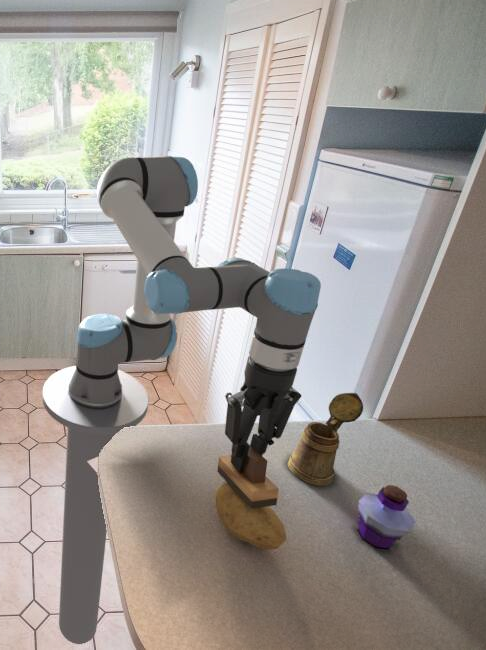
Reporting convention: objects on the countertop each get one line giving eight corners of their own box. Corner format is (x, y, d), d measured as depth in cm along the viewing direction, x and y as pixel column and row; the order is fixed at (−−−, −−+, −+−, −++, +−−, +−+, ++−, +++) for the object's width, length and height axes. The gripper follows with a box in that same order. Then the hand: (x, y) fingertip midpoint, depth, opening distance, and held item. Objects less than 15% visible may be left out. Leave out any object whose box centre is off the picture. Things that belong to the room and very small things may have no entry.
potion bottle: (400, 530, 88) (423, 485, 82) (404, 566, 81) (430, 519, 76) (348, 510, 92) (366, 466, 87) (348, 543, 85) (368, 496, 80)
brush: (217, 471, 91) (220, 436, 89) (239, 468, 92) (243, 433, 90) (251, 508, 80) (255, 469, 78) (276, 505, 81) (282, 466, 79)
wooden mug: (353, 468, 102) (379, 404, 94) (316, 491, 96) (342, 424, 88) (314, 444, 109) (336, 382, 101) (278, 464, 103) (299, 399, 96)
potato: (256, 574, 80) (267, 543, 76) (198, 513, 91) (205, 484, 88) (294, 552, 83) (305, 522, 80) (234, 497, 95) (242, 468, 91)
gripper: (243, 377, 71) (217, 486, 81) (330, 368, 74) (294, 476, 84) (218, 353, 78) (196, 457, 88) (298, 346, 80) (268, 448, 90)
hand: (244, 466), depth 86 cm, fingers closed on brush, 2 cm apart
